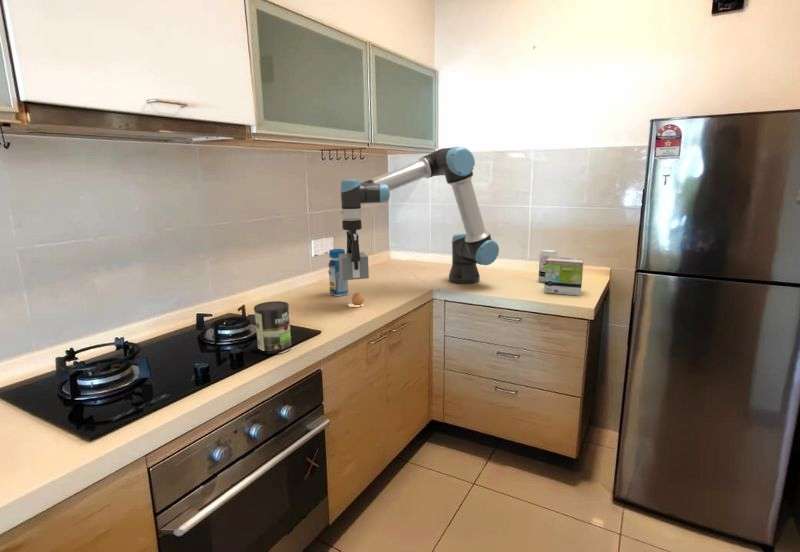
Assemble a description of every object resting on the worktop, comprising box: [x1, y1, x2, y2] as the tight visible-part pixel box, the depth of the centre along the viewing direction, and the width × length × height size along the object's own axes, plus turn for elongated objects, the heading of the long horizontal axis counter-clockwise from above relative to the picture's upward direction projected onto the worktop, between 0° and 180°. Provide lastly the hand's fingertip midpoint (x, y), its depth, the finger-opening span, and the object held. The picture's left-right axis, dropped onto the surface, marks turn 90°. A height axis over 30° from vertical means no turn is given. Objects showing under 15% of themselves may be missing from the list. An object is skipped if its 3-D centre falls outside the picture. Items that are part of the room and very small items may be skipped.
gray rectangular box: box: [339, 251, 370, 281], centre depth 185 cm, size 10×10×9 cm
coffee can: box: [253, 300, 292, 351], centre depth 142 cm, size 10×10×14 cm
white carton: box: [537, 248, 559, 284], centre depth 219 cm, size 8×8×15 cm
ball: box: [351, 292, 365, 305], centre depth 188 cm, size 5×5×5 cm
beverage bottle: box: [327, 248, 349, 297], centre depth 204 cm, size 8×8×20 cm
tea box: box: [543, 256, 584, 297], centre depth 200 cm, size 15×10×15 cm, turn 68°
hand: (354, 274), depth 186 cm, fingers closed on gray rectangular box, 10 cm apart
